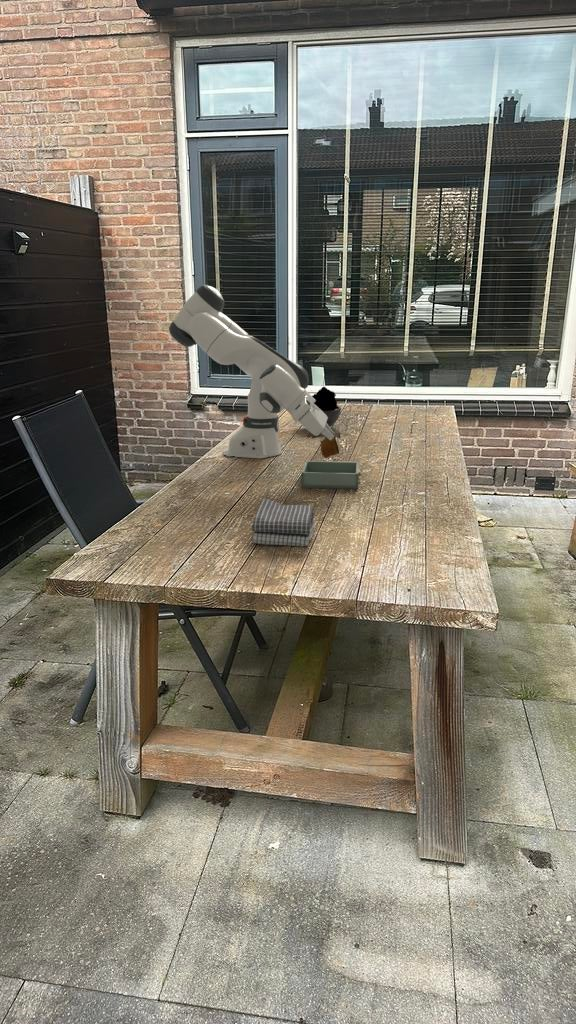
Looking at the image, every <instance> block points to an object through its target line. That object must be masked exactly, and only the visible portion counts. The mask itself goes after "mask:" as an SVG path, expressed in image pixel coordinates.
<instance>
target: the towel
mask: <svg viewBox="0 0 576 1024" xmlns="http://www.w3.org/2000/svg"><path fill="white" fill-rule="evenodd" d="M314 506H315V505H307V504H306V505H305V504H280V503H278V502H276V501H274V500H271V499H269V498H263V499H262V501H261V503H260V506H258V509H257V511H256V514H255V515H254V517H253V519H252V522H253V523H252V525H251V531H252V532H253V535H252V543H253V544H256V545H266V546H267V545H268V546H286V547H309V546H310V542H311V539H312V538H313V534H314V533H313V530H314V528H315V513H314V510H315V509H314Z"/></svg>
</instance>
